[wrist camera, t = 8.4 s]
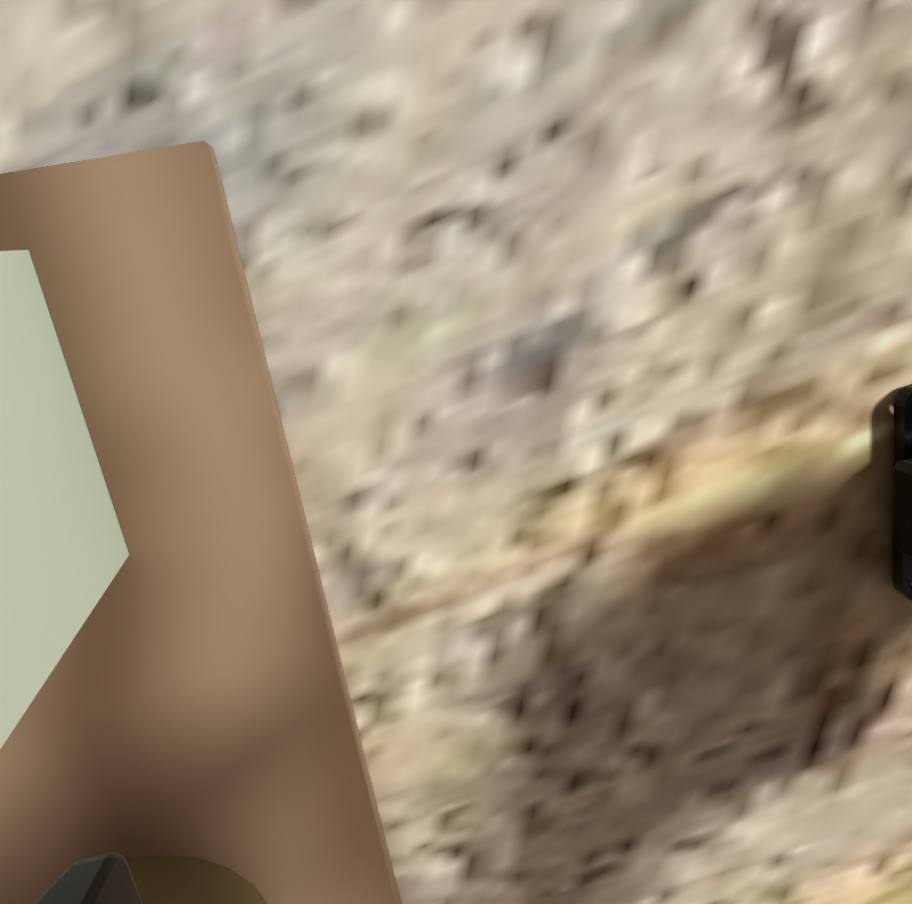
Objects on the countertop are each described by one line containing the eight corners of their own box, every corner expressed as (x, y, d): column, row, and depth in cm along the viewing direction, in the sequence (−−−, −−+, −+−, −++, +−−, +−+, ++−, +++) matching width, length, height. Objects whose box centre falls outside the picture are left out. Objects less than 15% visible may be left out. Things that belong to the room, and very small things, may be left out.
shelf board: (212, 147, 17) (184, 126, 13) (436, 1043, 25) (449, 1156, 22) (-322, 235, 16) (-483, 235, 12) (97, 1139, 24) (62, 1272, 21)
